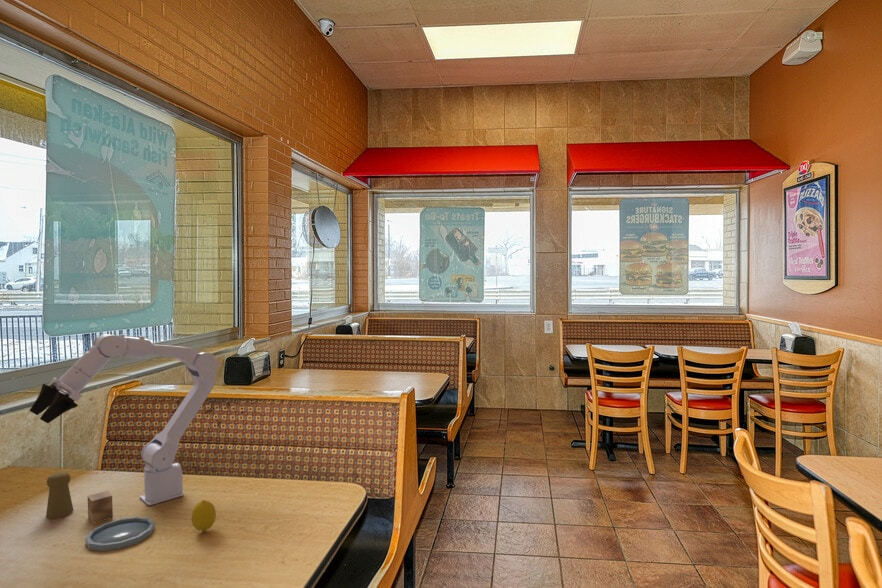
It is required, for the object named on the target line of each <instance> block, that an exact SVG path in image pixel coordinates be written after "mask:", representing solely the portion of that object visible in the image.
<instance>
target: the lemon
mask: <svg viewBox="0 0 882 588" xmlns="http://www.w3.org/2000/svg"><path fill="white" fill-rule="evenodd" d="M216 515H217V512H216V508H215V505H214V504H213V503H212V502H211V501H210V500H209V501H208V500H205V499H202V500H201V501H199V502H198V503H197V504H196V505H195V506H194V507H193V509H192V511H191V518H190V519H191V523H192V526H193V528H194V529H195V530H198V531H201V532H202V533H204V532H205V533H206V531H207V530H208V529H210V528H211V527H212V526H213V525H214V523H215V522H216Z"/></svg>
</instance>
